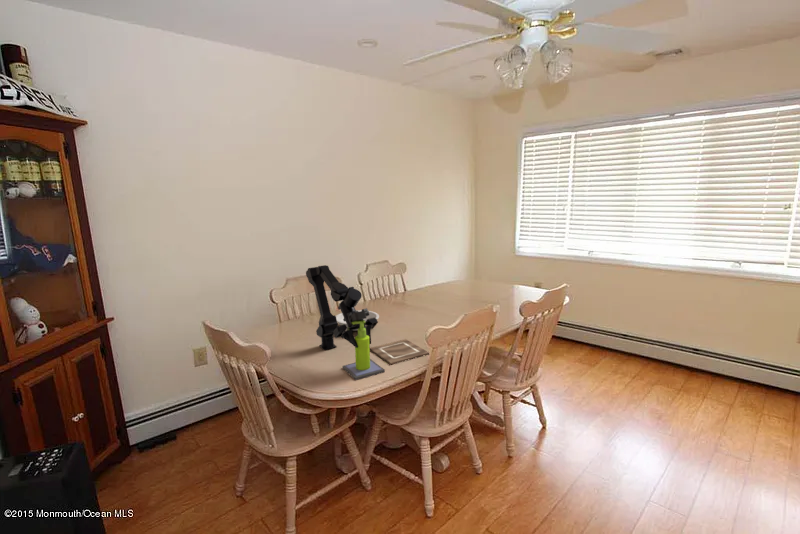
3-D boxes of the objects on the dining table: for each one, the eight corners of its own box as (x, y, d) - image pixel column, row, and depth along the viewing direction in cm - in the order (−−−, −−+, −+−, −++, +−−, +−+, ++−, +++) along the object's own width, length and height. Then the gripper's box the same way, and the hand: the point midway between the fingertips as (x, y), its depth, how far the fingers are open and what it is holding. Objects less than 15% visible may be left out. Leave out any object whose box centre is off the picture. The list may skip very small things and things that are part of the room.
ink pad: (342, 368, 166) (342, 365, 166) (370, 360, 172) (370, 358, 172) (355, 380, 155) (355, 377, 155) (384, 371, 161) (384, 369, 161)
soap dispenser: (352, 365, 165) (350, 319, 161) (368, 363, 167) (366, 317, 163) (355, 371, 160) (353, 324, 156) (371, 369, 162) (370, 322, 158)
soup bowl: (343, 320, 228) (343, 309, 227) (384, 322, 223) (383, 311, 222) (327, 334, 205) (327, 322, 204) (372, 337, 200) (372, 325, 199)
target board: (369, 349, 185) (369, 347, 185) (405, 340, 195) (405, 338, 195) (390, 364, 168) (390, 362, 168) (429, 354, 178) (429, 352, 178)
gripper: (335, 307, 156) (350, 342, 150) (375, 299, 167) (390, 331, 160) (327, 321, 164) (341, 354, 157) (365, 312, 175) (380, 343, 168)
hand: (363, 345), depth 161 cm, fingers closed on soap dispenser, 6 cm apart
